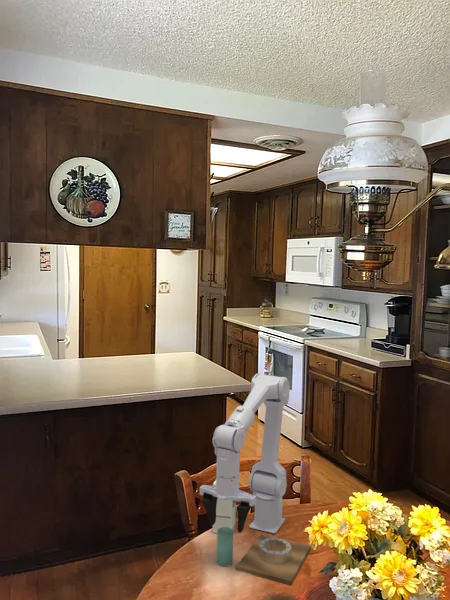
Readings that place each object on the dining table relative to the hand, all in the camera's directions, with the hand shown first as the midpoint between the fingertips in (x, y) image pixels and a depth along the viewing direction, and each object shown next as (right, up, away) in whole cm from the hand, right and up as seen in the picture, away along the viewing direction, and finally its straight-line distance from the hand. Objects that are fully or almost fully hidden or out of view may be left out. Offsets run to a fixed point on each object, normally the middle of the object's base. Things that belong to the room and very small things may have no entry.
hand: (226, 527), depth 128 cm
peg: (0, -9, +2) cm, 9 cm away
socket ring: (+12, -10, +3) cm, 16 cm away
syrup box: (-1, -9, +18) cm, 20 cm away
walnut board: (+12, -10, +3) cm, 16 cm away
